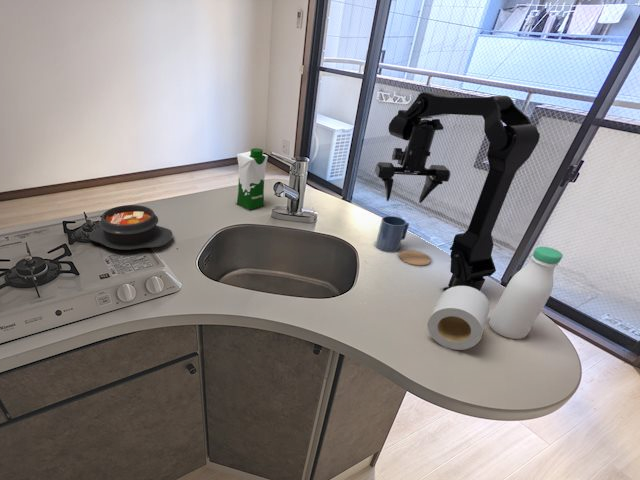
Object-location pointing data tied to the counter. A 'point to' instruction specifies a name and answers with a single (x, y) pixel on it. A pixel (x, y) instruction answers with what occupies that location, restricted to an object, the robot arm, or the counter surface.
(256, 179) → the milk carton
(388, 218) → the blue ceramic cup
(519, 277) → the milk bottle
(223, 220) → the counter surface
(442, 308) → the toilet paper
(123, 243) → the casserole
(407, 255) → the coaster
